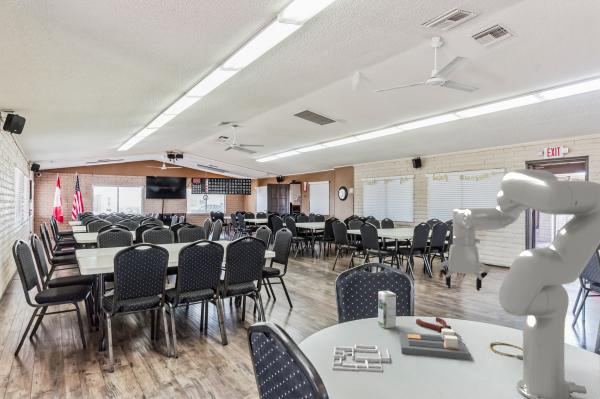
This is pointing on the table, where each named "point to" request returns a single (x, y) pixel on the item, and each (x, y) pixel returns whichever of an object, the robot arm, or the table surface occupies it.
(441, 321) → the pliers
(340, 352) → the floor plan model
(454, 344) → the tab
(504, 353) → the extension cord
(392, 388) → the table surface
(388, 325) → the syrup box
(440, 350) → the switch panel
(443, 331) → the tab
